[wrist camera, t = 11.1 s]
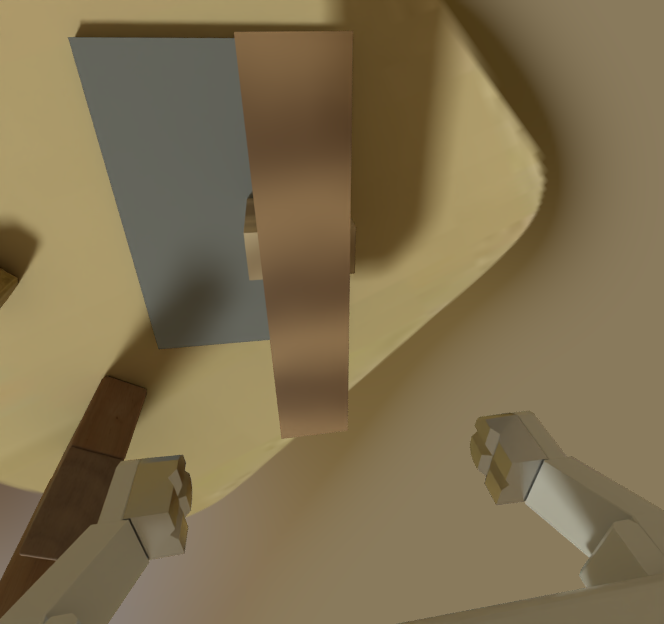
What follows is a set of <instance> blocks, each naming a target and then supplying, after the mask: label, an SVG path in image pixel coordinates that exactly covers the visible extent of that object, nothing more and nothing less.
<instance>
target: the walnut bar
mask: <svg viewBox="0 0 664 624" xmlns="http://www.w3.org/2000/svg"><path fill="white" fill-rule="evenodd" d="M234 38H235V46H236V55H237V63H238V72H239V80H240V89H241V97H242V106H243V114H244V123H245V131H246V140H247V148H248V157H249V165H250V174H251V182H252V191H253V199H254V208H255V216H256V225H257V233H258V242H259V250H260V259H261V267H262V276H263V284H264V293H265V301H266V310H267V318H268V327H269V335H270V344H271V352H272V361H273V370H274V378H275V387H276V395H277V404H278V412H279V421H280V429H281V438H282V439H284V438H292V437H300V436H308V435H316V434H323V433H331V432H340V431H347V430H348V366H349V292H350V218H351V145H352V71H353V31H278V32H234Z"/></svg>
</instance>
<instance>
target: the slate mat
mask: <svg viewBox="0 0 664 624" xmlns="http://www.w3.org/2000/svg"><path fill="white" fill-rule="evenodd" d="M68 39H69V42H70V46H71V49H72V52H73V56H74V59H75V63H76V66H77V70H78V73H79V77H80V80H81V83H82V87H83V90H84V94H85V97H86V101H87V104H88V108H89V111H90V114H91V118H92V121H93V125H94V128H95V132H96V135H97V139H98V142H99V145H100V149H101V152H102V156H103V159H104V163H105V166H106V170H107V173H108V176H109V180H110V183H111V187H112V190H113V194H114V197H115V200H116V204H117V207H118V211H119V214H120V218H121V221H122V225H123V228H124V231H125V235H126V238H127V242H128V245H129V249H130V252H131V256H132V259H133V262H134V266H135V269H136V273H137V276H138V280H139V283H140V287H141V290H142V293H143V297H144V300H145V304H146V307H147V311H148V314H149V318H150V321H151V324H152V328H153V331H154V335H155V338H156V342H157V345H158V348H159V349H167V348H178V347H190V346H202V345H214V344H225V343H237V342H249V341H261V340H270V335H269V327H268V318H267V310H266V301H265V293H264V284H263V280H249V273H248V265H247V257H246V249H245V241H244V223H245V213H246V203H247V199H249V198H253V191H252V182H251V174H250V165H249V157H248V148H247V140H246V131H245V123H244V114H243V106H242V97H241V89H240V80H239V72H238V63H237V55H236V46H235V38H97V37H68Z"/></svg>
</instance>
